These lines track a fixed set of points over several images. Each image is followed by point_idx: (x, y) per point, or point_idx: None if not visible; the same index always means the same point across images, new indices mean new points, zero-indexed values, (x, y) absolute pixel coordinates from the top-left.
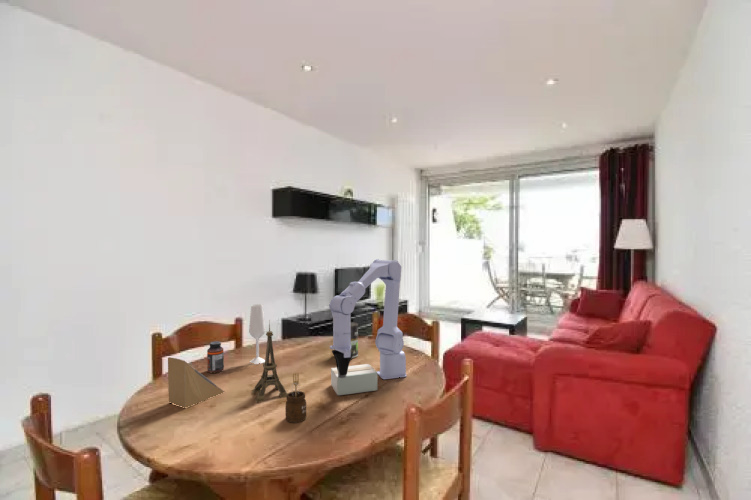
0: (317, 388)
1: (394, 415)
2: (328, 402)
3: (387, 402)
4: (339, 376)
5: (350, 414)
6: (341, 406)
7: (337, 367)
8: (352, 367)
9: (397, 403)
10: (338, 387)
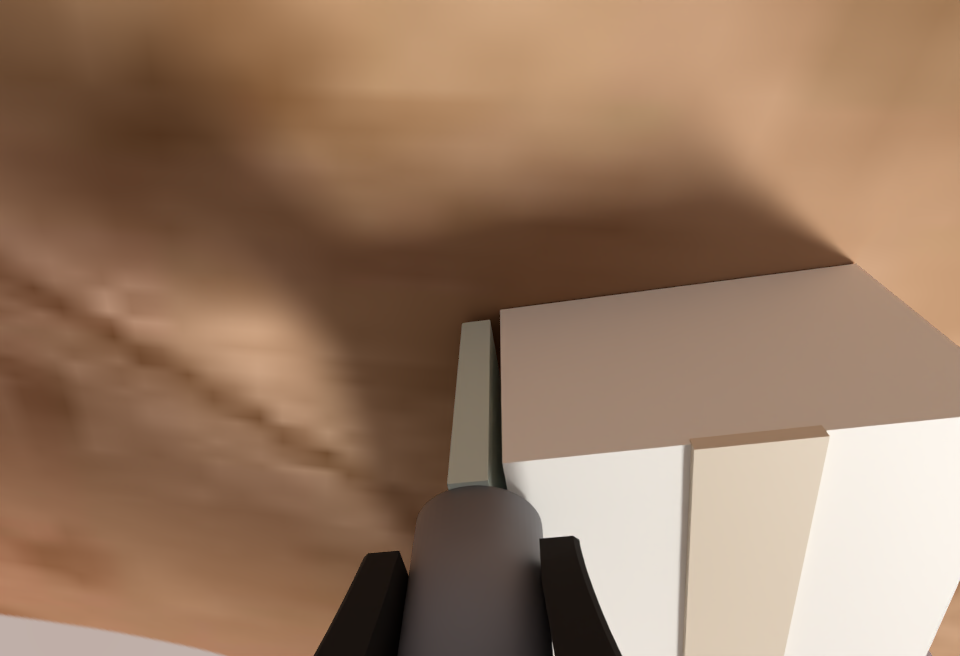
0: (818, 64)
1: (88, 614)
2: (299, 201)
3: (297, 615)
4: (434, 511)
5: (32, 382)
6: (198, 326)
7: (548, 614)
8: (850, 644)
9: (280, 652)
10: (458, 380)
